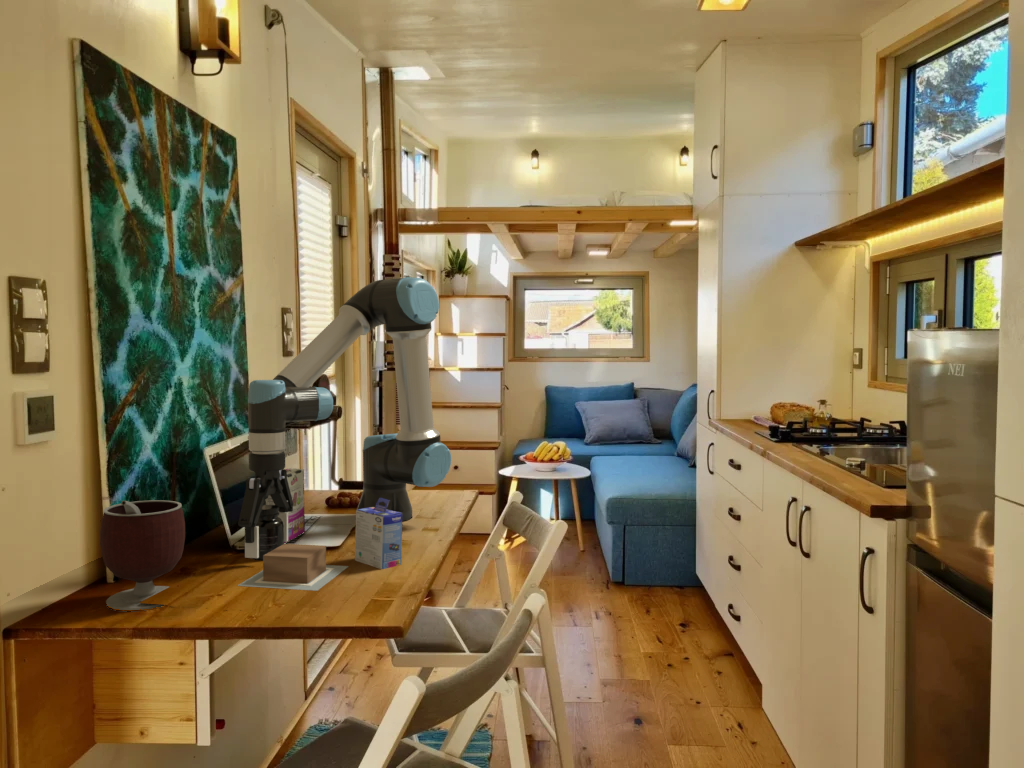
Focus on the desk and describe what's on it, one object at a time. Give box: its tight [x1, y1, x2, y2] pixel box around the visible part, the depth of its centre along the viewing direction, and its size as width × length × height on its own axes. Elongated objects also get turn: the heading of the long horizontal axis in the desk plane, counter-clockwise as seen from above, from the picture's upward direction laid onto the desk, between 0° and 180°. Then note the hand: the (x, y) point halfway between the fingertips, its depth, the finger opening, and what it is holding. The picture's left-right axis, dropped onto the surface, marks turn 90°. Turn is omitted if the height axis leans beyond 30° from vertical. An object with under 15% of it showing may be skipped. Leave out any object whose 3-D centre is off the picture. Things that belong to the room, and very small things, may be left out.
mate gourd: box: [99, 499, 186, 610], centre depth 136 cm, size 16×14×20 cm
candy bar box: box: [265, 467, 306, 543], centre depth 181 cm, size 11×5×16 cm, turn 170°
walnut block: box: [262, 543, 327, 584], centre depth 148 cm, size 9×9×5 cm
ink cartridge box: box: [354, 498, 403, 570], centre depth 158 cm, size 10×6×14 cm, turn 47°
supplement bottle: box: [251, 504, 284, 562], centre depth 162 cm, size 7×7×12 cm
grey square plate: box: [236, 564, 349, 592], centre depth 148 cm, size 16×16×1 cm
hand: (267, 549), depth 162 cm, fingers open, 13 cm apart
